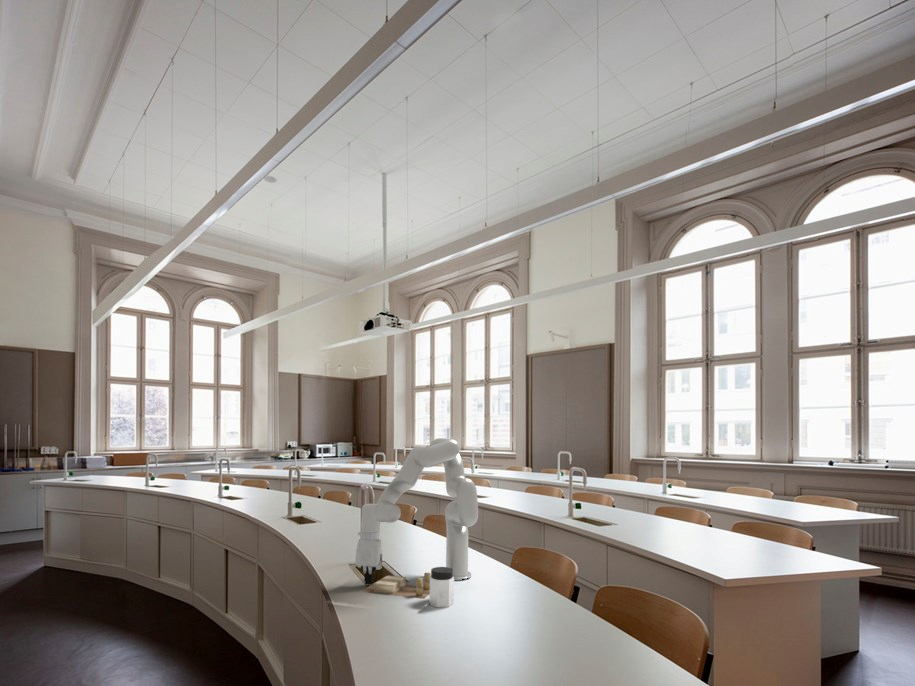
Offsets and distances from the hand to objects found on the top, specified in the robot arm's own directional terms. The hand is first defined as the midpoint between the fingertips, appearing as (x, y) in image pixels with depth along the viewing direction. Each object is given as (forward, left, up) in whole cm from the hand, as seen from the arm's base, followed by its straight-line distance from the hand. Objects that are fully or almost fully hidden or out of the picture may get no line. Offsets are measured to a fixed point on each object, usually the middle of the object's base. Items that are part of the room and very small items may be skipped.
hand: (368, 583), depth 219 cm
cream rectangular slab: (0, +9, -1) cm, 10 cm away
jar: (+7, +33, -2) cm, 34 cm away
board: (0, +13, -2) cm, 14 cm away
